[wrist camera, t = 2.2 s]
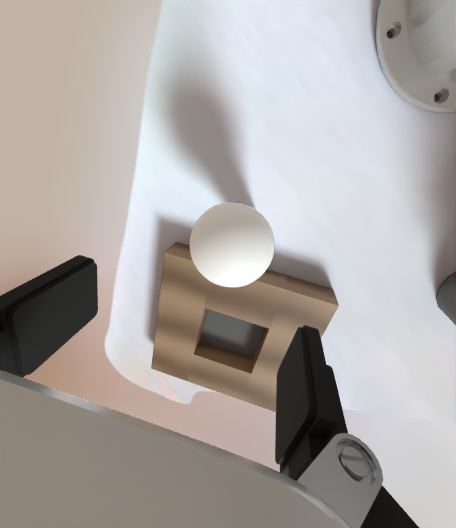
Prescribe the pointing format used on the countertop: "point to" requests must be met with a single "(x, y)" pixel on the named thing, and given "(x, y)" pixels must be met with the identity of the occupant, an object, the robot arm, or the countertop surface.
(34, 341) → the robot arm
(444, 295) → the candle holder
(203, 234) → the lightbulb
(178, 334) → the socket block
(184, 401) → the countertop surface
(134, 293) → the countertop surface
